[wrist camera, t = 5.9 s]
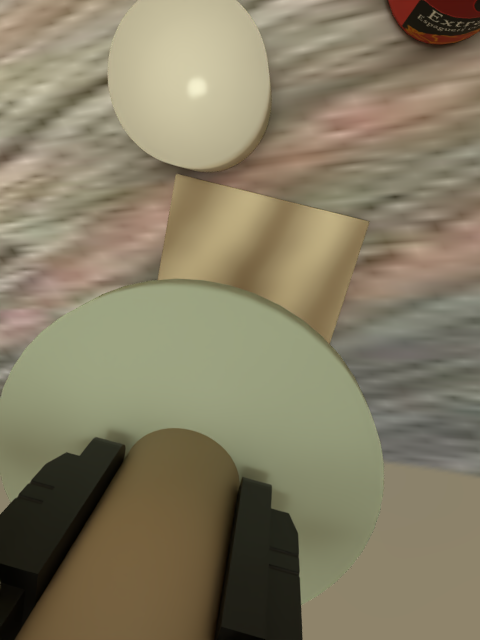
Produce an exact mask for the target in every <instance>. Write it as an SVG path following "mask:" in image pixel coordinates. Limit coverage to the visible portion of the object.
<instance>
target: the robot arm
mask: <svg viewBox="0 0 480 640" xmlns="http://www.w3.org/2000/svg"><path fill="white" fill-rule="evenodd" d="M125 450H126V447H125V445H124V444H121V443H117V442H113V441H109V440H106V439H102V438H98V437H95V438H93V439H92V441H91V442H90V443H89V444H88V446H87V447H86V448H85V449H84V451H83V452H82V453H81V454H80V456H78V455H75V454H71V453H67V452H66V453H64V454H62V455H60V456H59V457H57V458H55V459H53V460H51V461H50V462H48V463H46V464H45V465H44V466H43V467H42V468H41V470H40V471H39V472H38V473H37V474H36V475H35V476H34V477H33V479H32V480H31V482H30V484H27V485H26V486H25V488H24V489H23V490H22V491H21V492H20V493H19V495H18V497H17V498H15V499H14V500H13V501H12V502H11V503H10V504H9V506H8V507H7V508H6V509H5V510H4V511H3V512H2V513H1V514H0V640H15V638H16V636H17V635H18V633H19V632H20V630H21V628H22V627H23V625H24V623H25V622H26V620H27V618H28V617H29V615H30V614H31V612H32V610H33V609H34V607H35V605H36V604H37V602H38V600H39V599H40V597H41V596H42V594H43V592H44V591H45V589H46V587H47V586H48V584H49V582H50V581H51V579H52V577H53V576H54V574H55V573H56V571H57V569H58V568H59V566H60V564H61V563H62V561H63V559H64V558H65V556H66V555H67V553H68V551H69V550H70V548H71V546H72V545H73V543H74V541H75V540H76V538H77V536H78V535H79V533H80V532H81V530H82V528H83V527H84V525H85V523H86V522H87V520H88V518H89V517H90V515H91V514H92V512H93V510H94V509H95V507H96V505H97V504H98V502H99V500H100V499H101V497H102V495H103V494H104V492H105V491H106V489H107V487H108V486H109V484H110V482H111V481H112V479H113V477H114V476H115V474H116V473H117V471H118V469H119V468H120V466H121V464H122V463H123V461H124V457H125ZM271 500H272V485H271V484H267V483H263V482H260V481H256V480H252V479H249V478H245V477H242V480H241V483H240V486H239V490H238V494H237V501H236V507H235V513H234V519H233V526H232V532H231V538H230V544H229V551H228V557H227V563H226V569H225V576H224V582H223V588H222V594H221V601H220V607H219V613H218V620H217V626H216V632H215V638H214V640H302V619H301V592H300V577H299V573H300V566H299V558H298V557H299V540H298V532H297V530H296V527H295V525H294V523H293V521H292V519H291V517H290V515H289V513H286V512H283V511H279V510H275V509H272V508H271Z"/></svg>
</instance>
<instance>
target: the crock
mask: <svg viewBox="0 0 480 640" xmlns="http://www.w3.org/2000/svg"><path fill="white" fill-rule="evenodd" d="M108 86H109V92H110V97H111V101H112V104H113V108H114V110H115V112H116V115H117V117H118V119H119V121H120V123H121V125H122V127H123V128H124V130H125V131H126V132H127V134H128V135H129V137H130V138H131V139H132V140H133V141H134V142H135V143H136V144H137V145H138V146H139V147H140V148H141V149H143V150H144V151H145V152H146V153H148V154H149V155H151V156H153V157H154V158H156V159H158V160H161V161H163V162H166V163H169V164H172V165H175V166H179V167H183V168H186V169H190V170H193V171H199V172H218V171H222V170H226V169H228V168H231V167H233V166H235V165H237V164H238V163H240V162H241V161H243V160H244V159H245V158H247V157H248V156H249V155H250V154H251V153H252V152H253V151H254V149H255V148H256V147H257V145H258V144H259V143H260V141H261V139H262V137H263V136H264V133H265V131H266V129H267V126H268V123H269V119H270V114H271V106H272V95H271V84H270V76H269V68H268V61H267V55H266V50H265V46H264V43H263V40H262V37H261V35H260V33H259V30H258V28H257V26H256V24H255V23H254V21H253V20H252V18H251V16H250V15H249V14H248V12H247V11H246V10H245V9H244V8H243V6H242V5H241V4H240V3H238V2H237V1H236V0H138V1H137V2H136V3H135V4H134V5H133V6H132V7H131V8H130V10H129V11H128V12H127V13H126V15H125V16H124V18H123V19H122V21H121V23H120V24H119V26H118V28H117V31H116V33H115V35H114V38H113V41H112V45H111V48H110V54H109V59H108Z"/></svg>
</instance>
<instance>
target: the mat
mask: <svg viewBox="0 0 480 640" xmlns="http://www.w3.org/2000/svg"><path fill="white" fill-rule="evenodd" d="M368 225H369V221H365V220H361V219H357V218H353V217H349V216H345V215H341V214H337V213H333V212H329V211H325V210H321V209H317V208H313V207H309V206H305V205H301V204H297V203H292V202H288V201H284V200H280V199H276V198H272V197H268V196H264V195H260V194H256V193H252V192H248V191H244V190H240V189H236V188H232V187H228V186H224V185H220V184H216V183H212V182H208V181H204V180H200V179H195V178H191V177H187V176H183V175H179V174H176V177H175V183H174V189H173V194H172V200H171V206H170V212H169V217H168V223H167V229H166V235H165V241H164V246H163V252H162V258H161V264H160V269H159V275H158V280H164V279H192V280H205V281H210V282H216V283H221V284H226V285H231V286H234V287H237V288H240V289H243V290H246V291H249V292H252V293H255V294H257V295H260V296H262V297H264V298H266V299H268V300H270V301H272V302H274V303H276V304H279V305H281V306H282V307H284V308H285V309H287V310H288V311H290V312H291V313H293V314H295V315H296V316H298V317H299V318H301V319H302V320H304V321H305V322H306V323H307V324H308V325H310V326H311V327H312V328H313V329H314V330H315V331H317V332H318V333H319V334H320V335H321V336H323V337H324V339H325V340H326V341H327V342H328V343H329V344H330V341H331V338H332V335H333V332H334V329H335V326H336V323H337V319H338V316H339V313H340V310H341V307H342V304H343V301H344V298H345V295H346V292H347V289H348V286H349V283H350V280H351V277H352V274H353V271H354V268H355V265H356V262H357V258H358V255H359V252H360V249H361V246H362V243H363V240H364V237H365V234H366V231H367V228H368Z"/></svg>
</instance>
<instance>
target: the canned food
mask: <svg viewBox="0 0 480 640" xmlns="http://www.w3.org/2000/svg"><path fill="white" fill-rule="evenodd" d="M388 1H389V5H390V8H391V11H392V14H393V16H394V18H395V19H396V21H397V23H398V24H399V26H400V27H401V28H402V29H403V30H404V31H405V32H406V33H407V34H408V35H410V36H411V37H413V38H415V39H416V40H419V41H422V42H425V43H428V44H448V43H455V42H458V41H461V40H463V39H466V38H469V37H470V36H472V35H474V34H475V33H477V32H479V31H480V0H388Z"/></svg>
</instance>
